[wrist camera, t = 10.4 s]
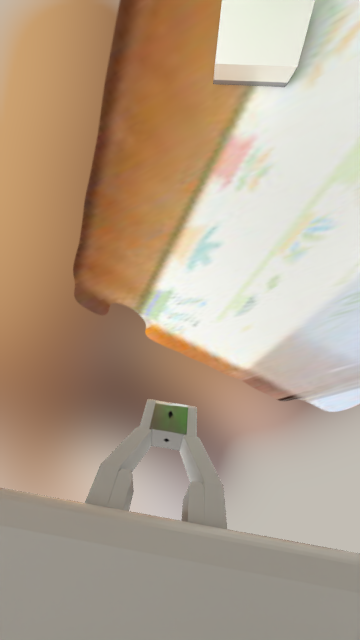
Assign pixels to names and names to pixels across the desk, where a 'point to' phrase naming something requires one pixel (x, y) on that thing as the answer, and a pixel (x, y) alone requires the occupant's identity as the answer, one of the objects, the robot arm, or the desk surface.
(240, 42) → the eraser
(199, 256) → the desk surface
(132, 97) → the desk surface
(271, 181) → the desk surface
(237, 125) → the desk surface
